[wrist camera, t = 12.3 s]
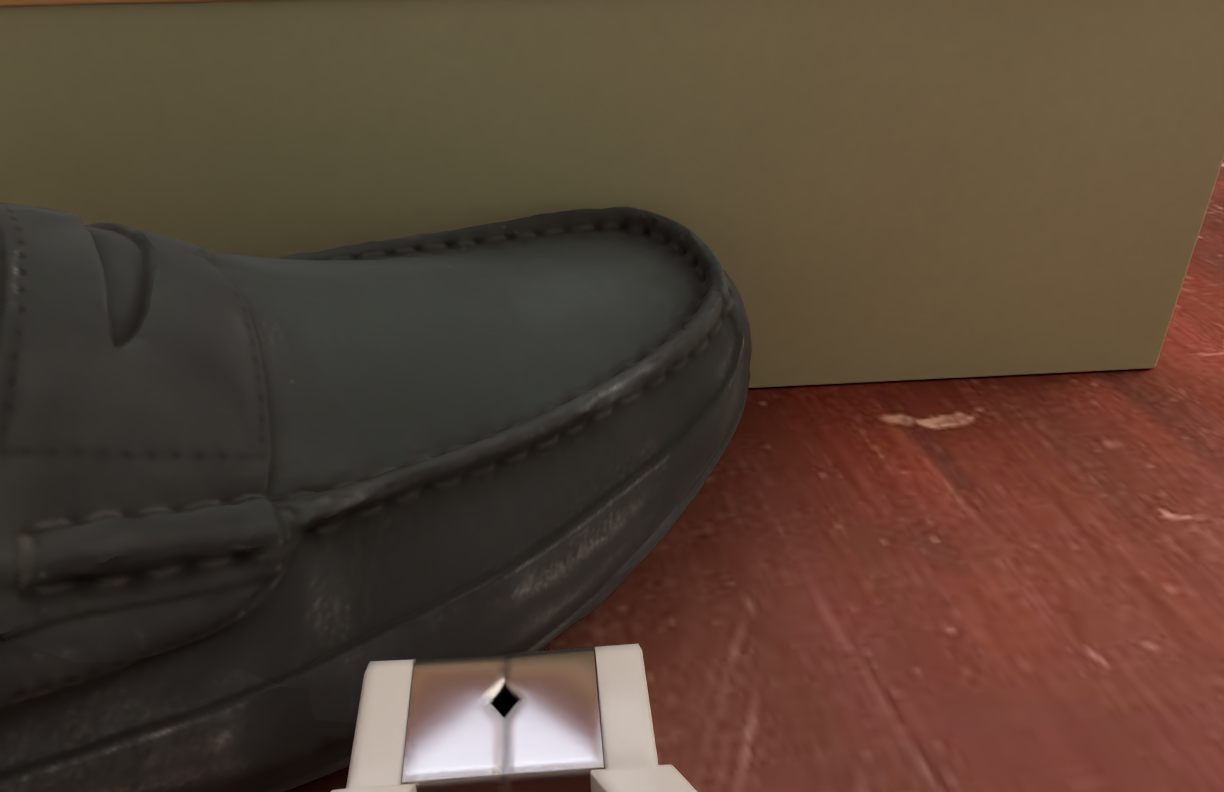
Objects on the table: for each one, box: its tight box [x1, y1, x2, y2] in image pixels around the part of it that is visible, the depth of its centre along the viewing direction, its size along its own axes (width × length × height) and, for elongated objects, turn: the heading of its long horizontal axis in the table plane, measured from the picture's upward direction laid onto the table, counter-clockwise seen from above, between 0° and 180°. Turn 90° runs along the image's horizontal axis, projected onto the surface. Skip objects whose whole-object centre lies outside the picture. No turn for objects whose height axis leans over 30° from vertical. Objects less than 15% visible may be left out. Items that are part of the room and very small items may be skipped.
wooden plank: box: [0, 0, 1224, 388], centre depth 24 cm, size 30×2×11 cm, turn 95°
